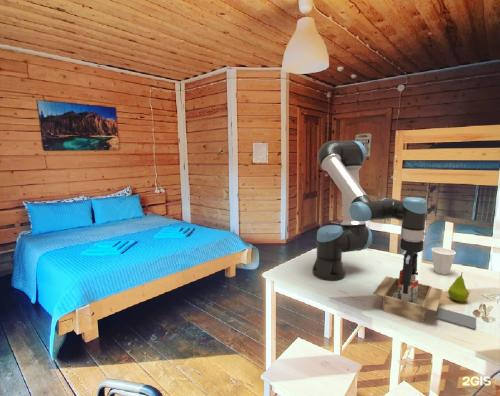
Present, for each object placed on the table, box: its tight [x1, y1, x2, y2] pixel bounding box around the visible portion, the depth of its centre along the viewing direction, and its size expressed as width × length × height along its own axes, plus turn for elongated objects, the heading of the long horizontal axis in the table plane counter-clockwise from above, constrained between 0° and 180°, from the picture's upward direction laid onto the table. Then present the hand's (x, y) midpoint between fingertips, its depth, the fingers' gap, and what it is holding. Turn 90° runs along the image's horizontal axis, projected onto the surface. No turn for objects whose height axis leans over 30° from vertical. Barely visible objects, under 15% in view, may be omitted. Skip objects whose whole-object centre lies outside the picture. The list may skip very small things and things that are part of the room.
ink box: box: [397, 269, 419, 304], centre depth 111 cm, size 4×8×15 cm, turn 123°
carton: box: [372, 275, 443, 323], centre depth 112 cm, size 20×19×6 cm
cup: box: [430, 247, 457, 276], centre depth 140 cm, size 10×10×11 cm
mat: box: [436, 307, 477, 331], centre depth 102 cm, size 11×8×1 cm
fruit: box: [447, 273, 470, 303], centre depth 114 cm, size 6×6×12 cm
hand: (407, 295), depth 111 cm, fingers open, 9 cm apart
